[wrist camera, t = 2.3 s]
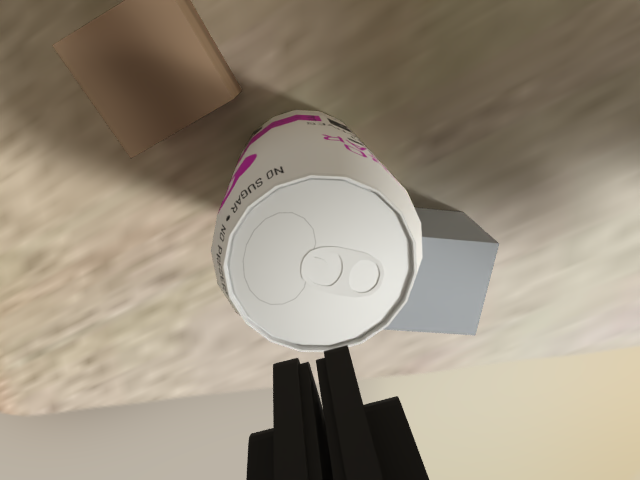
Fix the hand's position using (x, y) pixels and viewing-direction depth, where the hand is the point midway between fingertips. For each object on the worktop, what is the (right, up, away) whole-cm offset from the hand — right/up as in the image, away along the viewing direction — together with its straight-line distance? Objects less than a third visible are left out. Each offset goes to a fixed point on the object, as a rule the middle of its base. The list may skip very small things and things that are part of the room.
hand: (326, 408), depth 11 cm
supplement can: (-1, +8, +21) cm, 23 cm away
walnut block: (-9, +14, +18) cm, 24 cm away
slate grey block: (+6, +3, +24) cm, 25 cm away
